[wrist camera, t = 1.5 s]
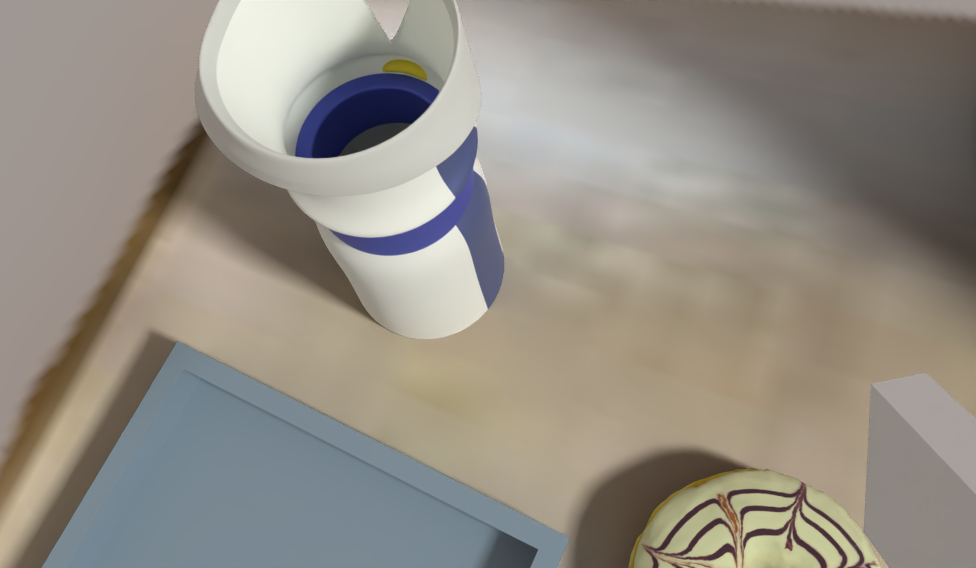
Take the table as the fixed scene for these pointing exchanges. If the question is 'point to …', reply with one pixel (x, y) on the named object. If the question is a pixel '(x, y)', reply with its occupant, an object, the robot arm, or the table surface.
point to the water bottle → (364, 145)
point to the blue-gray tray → (277, 491)
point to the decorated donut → (751, 526)
